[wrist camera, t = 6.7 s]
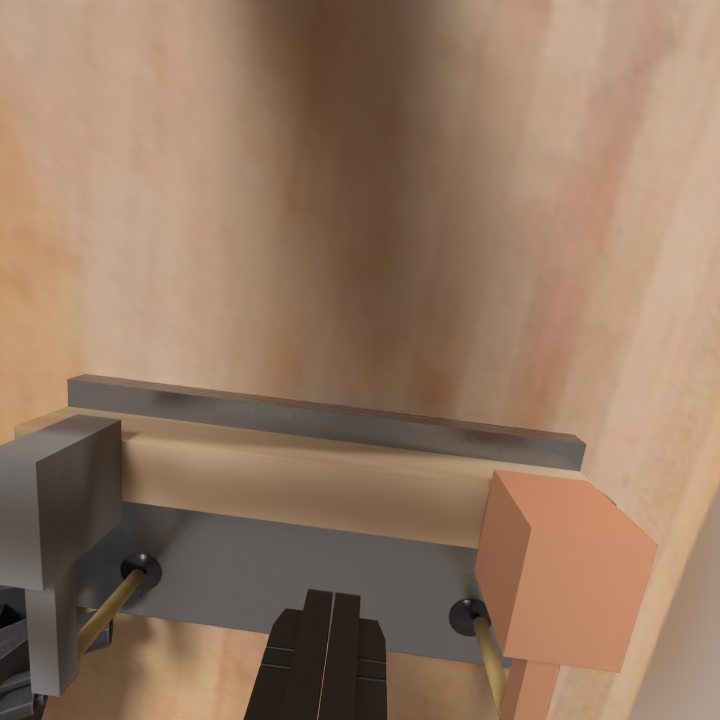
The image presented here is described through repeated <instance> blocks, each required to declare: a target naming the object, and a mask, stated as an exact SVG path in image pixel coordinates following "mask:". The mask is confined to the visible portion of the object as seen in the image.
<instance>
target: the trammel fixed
mask: <svg viewBox="0 0 720 720" xmlns="http://www.w3.org/2000/svg"><path fill="white" fill-rule="evenodd" d="M14 431H15V440H13V441H11V442H8V443H6V444H3V445H1V446H0V585H4V586H11V587H18V588H25V599H26V614H27V629H28V644H29V659H30V674H31V689H32V693H36V694H43V695H49V696H56V697H60V696H61V695H62V694H63V692H64V691H65V690H66V689H67V687H68V686H69V685H70V683H71V682H72V681H73V680H74V678H75V677H76V676H77V675H78V673H79V658H80V657H81V656H82V655H83V654H84V652H85V651H86V650H87V649H88V647H89V646H90V645H91V644H92V642H93V641H94V640H95V639H96V638H97V636H98V635H99V634H100V633H101V631H102V630H103V629H104V628H105V627H106V625H107V624H108V623H109V622H110V620H111V619H112V618H113V617H114V615H115V614H116V613H117V612H118V611H119V609H120V608H121V607H122V606H123V604H124V603H125V602H126V601H127V600H128V598H129V597H130V596H131V595H132V593H133V592H134V591H135V590H136V588H137V587H138V586H139V585H140V584H141V582H142V581H143V580H144V578H145V574H144V573H143V571H141V570H139V569H135V570H133V571H132V572H131V573H130V575H129V576H128V577H127V578H126V579H125V580H124V581H123V582H122V584H121V585H120V586H119V587H118V588H117V589H116V590H115V592H114V593H113V594H112V595H111V596H110V597H109V598H108V600H107V601H106V602H105V603H104V604H103V605H102V606H101V607H100V609H99V610H98V611H97V612H96V613H95V614H94V615H93V617H92V618H91V619H90V620H89V621H88V622H87V623H86V625H85V626H84V627H83V628H82V629H81V630H80V631H79V633H77V605H76V577H75V562H76V561H77V560H78V559H79V558H80V557H82V556H83V555H84V554H85V553H86V552H87V551H88V550H89V549H90V548H92V547H93V546H94V545H95V544H96V543H97V542H98V541H99V540H101V539H102V538H103V537H104V536H105V535H106V534H107V533H108V532H110V531H111V530H112V529H113V528H114V527H115V526H116V525H117V524H118V523H120V522H121V521H122V501H126V502H134V503H141V504H149V505H156V506H164V507H171V508H179V509H186V510H193V511H201V512H208V513H216V514H223V515H231V516H238V517H246V518H253V519H261V520H268V521H276V522H283V523H290V524H298V525H305V526H313V527H320V528H328V529H335V530H343V531H350V532H358V533H365V534H372V535H380V536H387V537H395V538H402V539H410V540H417V541H425V542H432V543H440V544H447V545H454V546H462V547H469V548H477V549H478V548H479V543H480V538H481V533H482V528H483V522H484V517H485V512H486V507H487V502H488V497H489V492H490V487H491V482H492V476H493V471H494V469H497V470H504V471H512V472H520V473H528V474H536V475H544V476H551V477H559V478H567V479H575V480H583V481H589V482H590V483H591V484H592V485H593V486H594V487H595V488H597V487H596V486H595V485H594V484H593V483H592V482H591V481H590V480H589V479H587V478H586V477H585V476H584V475H583V474H582V473H581V472H580V471H572V470H564V469H556V468H548V467H540V466H532V465H525V464H517V463H509V462H501V461H493V460H485V459H477V458H469V457H462V456H454V455H446V454H438V453H430V452H422V451H414V450H407V449H399V448H391V447H383V446H375V445H367V444H359V443H351V442H344V441H336V440H328V439H320V438H312V437H304V436H296V435H289V434H281V433H273V432H265V431H257V430H249V429H241V428H234V427H226V426H218V425H210V424H202V423H194V422H186V421H178V420H171V419H163V418H155V417H147V416H139V415H131V414H123V413H116V412H108V411H100V410H92V409H84V408H76V407H66V408H63V409H60V410H58V411H55V412H52V413H50V414H47V415H44V416H42V417H39V418H36V419H34V420H31V421H28V422H26V423H23V424H20V425H18V426H15V427H14ZM597 489H598V490H599V491H600V492H601V493H602V494H603V495H604V496H605V497H606V498H608V499H609V500H610V501H611V502H612V503H613V504H614V505H615V506H616V504H615V503H614V502H613V501H612V500H611V499H610V498H609V497H607V496H606V495H605V494H604V493H603V492H602V491H601V490H600V489H599V488H597Z"/></svg>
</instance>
